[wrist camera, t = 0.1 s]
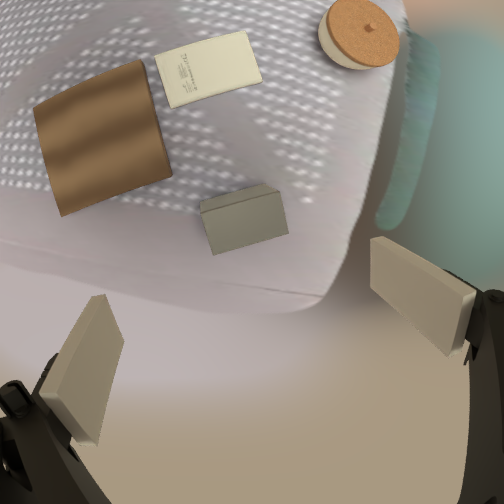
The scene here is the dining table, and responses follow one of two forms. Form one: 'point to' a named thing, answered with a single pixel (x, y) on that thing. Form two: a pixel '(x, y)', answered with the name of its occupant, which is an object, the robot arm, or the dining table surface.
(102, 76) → the walnut stand
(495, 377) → the robot arm
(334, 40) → the lidded jar
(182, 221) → the dining table surface
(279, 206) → the block
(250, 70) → the external hard drive
